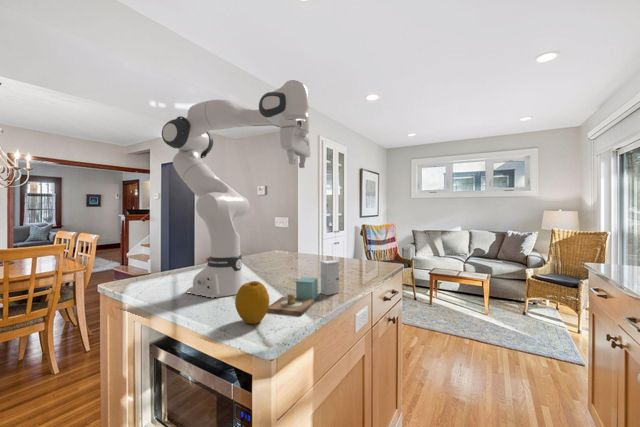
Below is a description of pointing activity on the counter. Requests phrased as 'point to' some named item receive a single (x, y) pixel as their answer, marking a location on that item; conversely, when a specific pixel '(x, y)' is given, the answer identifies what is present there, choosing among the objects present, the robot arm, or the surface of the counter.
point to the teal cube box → (307, 288)
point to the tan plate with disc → (291, 305)
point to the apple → (252, 302)
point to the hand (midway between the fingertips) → (297, 166)
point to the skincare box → (329, 277)
